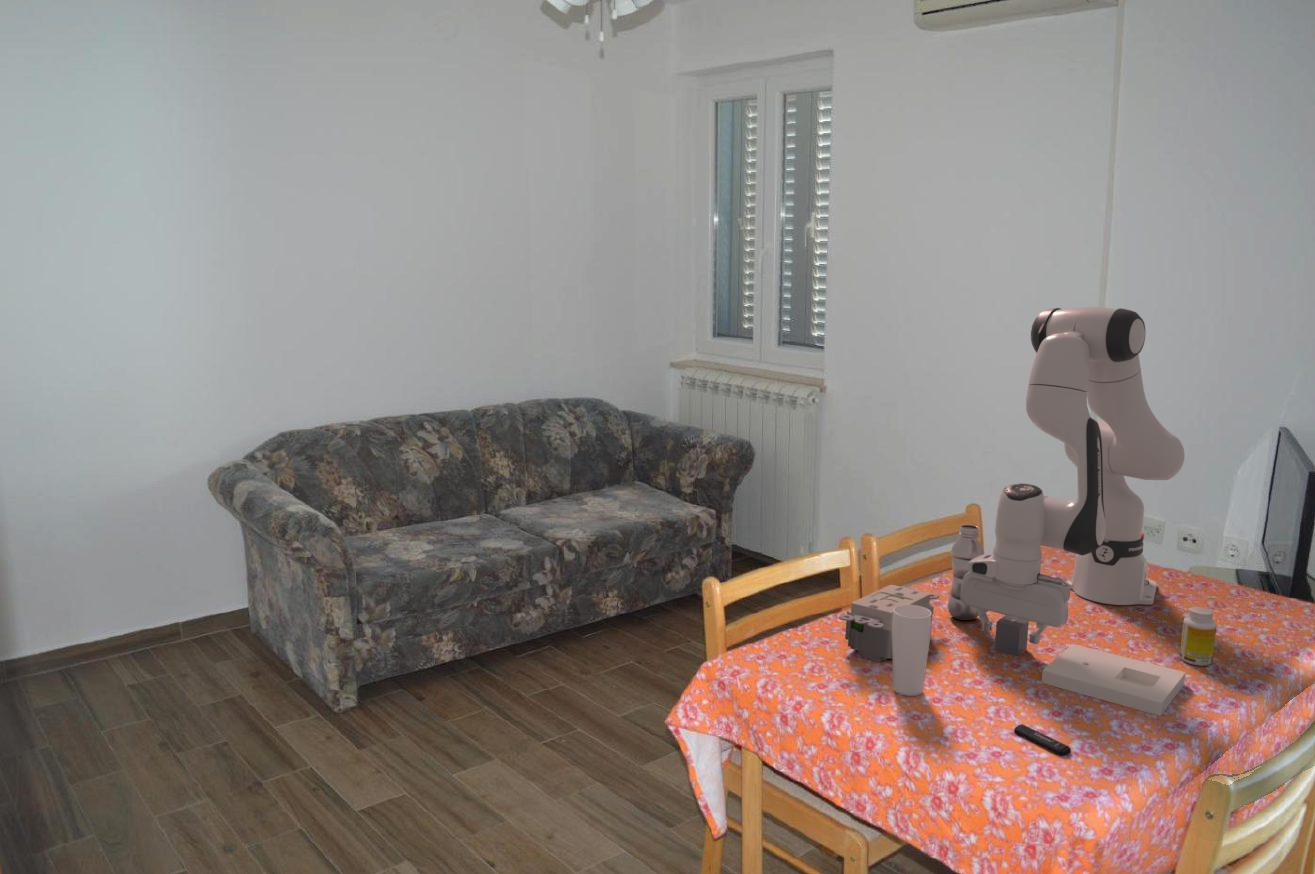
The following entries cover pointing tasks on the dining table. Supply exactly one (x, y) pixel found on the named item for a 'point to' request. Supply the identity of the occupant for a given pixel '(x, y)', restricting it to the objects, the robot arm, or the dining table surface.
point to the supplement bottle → (1198, 637)
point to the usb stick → (1042, 740)
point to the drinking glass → (910, 648)
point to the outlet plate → (1115, 679)
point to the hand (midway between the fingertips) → (1010, 636)
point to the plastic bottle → (963, 570)
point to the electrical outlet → (879, 619)
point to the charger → (1011, 635)
